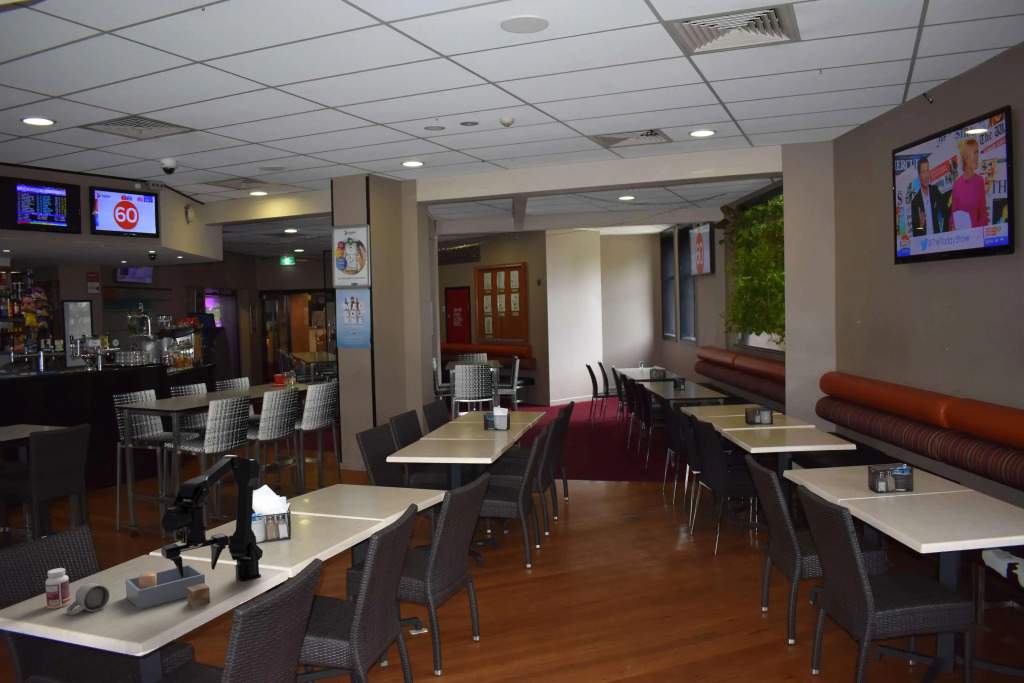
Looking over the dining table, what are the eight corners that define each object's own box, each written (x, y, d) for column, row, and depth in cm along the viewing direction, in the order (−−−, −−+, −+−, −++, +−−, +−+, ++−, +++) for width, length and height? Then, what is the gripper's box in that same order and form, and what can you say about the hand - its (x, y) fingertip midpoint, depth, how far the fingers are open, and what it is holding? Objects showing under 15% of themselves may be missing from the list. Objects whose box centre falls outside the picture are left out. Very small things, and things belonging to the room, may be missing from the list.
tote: (190, 580, 246) (189, 564, 245) (205, 591, 235) (204, 574, 234) (126, 597, 233) (125, 579, 233) (138, 609, 222) (137, 591, 222)
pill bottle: (66, 600, 232) (64, 565, 232) (73, 604, 228) (71, 569, 228) (44, 606, 228) (42, 571, 228) (50, 610, 224) (48, 575, 223)
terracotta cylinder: (155, 592, 234) (153, 571, 234) (159, 596, 230) (158, 574, 230) (138, 597, 231) (136, 575, 230) (142, 601, 227) (141, 578, 227)
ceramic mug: (99, 601, 230) (97, 577, 230) (111, 606, 225) (109, 582, 225) (62, 613, 222) (60, 588, 222) (73, 619, 217) (71, 593, 216)
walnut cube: (204, 599, 228) (203, 583, 228) (210, 603, 225) (209, 587, 224) (187, 603, 225) (187, 587, 225) (193, 607, 221) (192, 591, 221)
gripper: (216, 512, 237) (219, 560, 237) (154, 524, 224) (157, 575, 225) (229, 518, 228) (231, 567, 229) (165, 531, 216) (168, 583, 216)
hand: (197, 573), depth 225 cm, fingers open, 9 cm apart
